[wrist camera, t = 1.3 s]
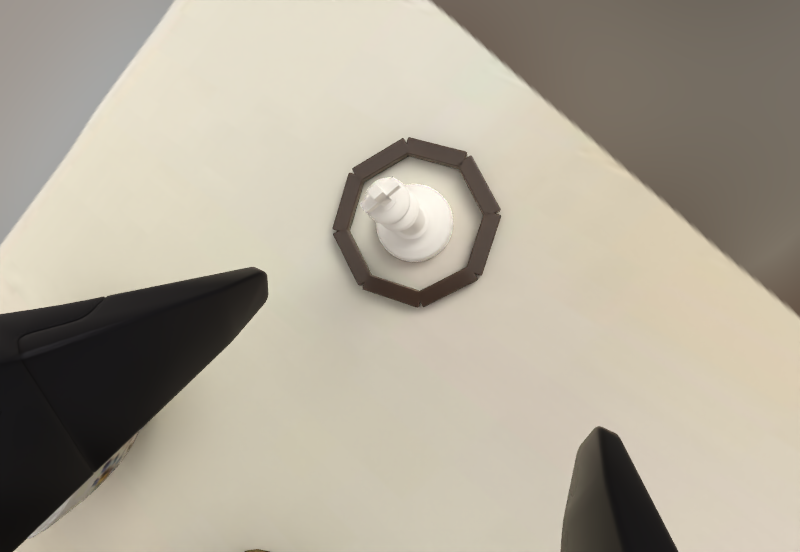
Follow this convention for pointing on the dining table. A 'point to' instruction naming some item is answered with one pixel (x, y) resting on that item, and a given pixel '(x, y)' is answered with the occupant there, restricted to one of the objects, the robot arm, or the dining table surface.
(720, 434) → the dining table surface
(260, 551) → the cork
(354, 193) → the spot ring
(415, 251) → the chess piece
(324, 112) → the dining table surface
